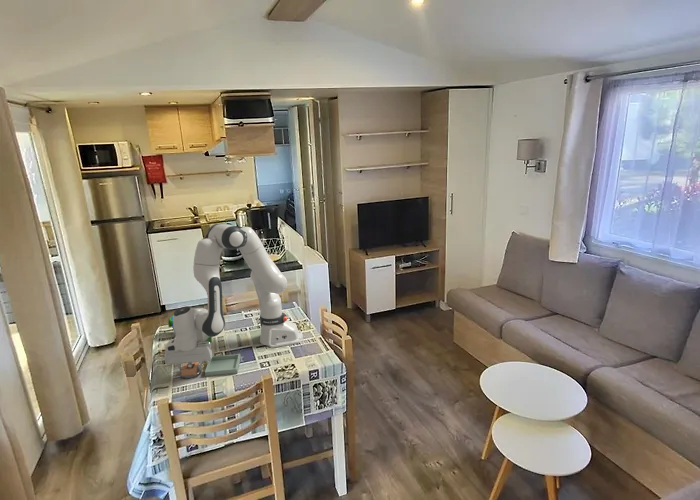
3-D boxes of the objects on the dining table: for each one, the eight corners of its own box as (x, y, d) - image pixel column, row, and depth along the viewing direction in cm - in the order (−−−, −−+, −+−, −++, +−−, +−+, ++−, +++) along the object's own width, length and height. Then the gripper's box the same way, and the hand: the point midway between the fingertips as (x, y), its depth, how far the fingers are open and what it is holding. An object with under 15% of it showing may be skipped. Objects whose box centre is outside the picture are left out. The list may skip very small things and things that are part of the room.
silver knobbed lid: (203, 367, 200) (202, 357, 198) (199, 378, 191) (197, 367, 190) (183, 369, 198) (181, 359, 197) (178, 379, 190) (176, 369, 188)
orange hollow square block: (199, 367, 198) (198, 361, 197) (196, 374, 192) (195, 369, 191) (185, 368, 197) (184, 363, 196) (181, 376, 191) (181, 370, 190)
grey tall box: (204, 350, 216) (200, 321, 212) (192, 349, 217) (188, 320, 213) (212, 342, 224) (209, 314, 220) (201, 341, 225) (197, 314, 221)
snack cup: (164, 335, 233) (161, 318, 230) (179, 327, 242) (177, 311, 239) (185, 341, 226) (182, 323, 223) (200, 332, 235) (197, 315, 233)
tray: (240, 358, 207) (240, 353, 206) (237, 373, 193) (236, 369, 193) (210, 361, 205) (210, 356, 204) (205, 376, 192) (204, 372, 191)
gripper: (212, 337, 195) (215, 364, 198) (165, 341, 192) (169, 368, 196) (209, 344, 189) (213, 371, 192) (161, 348, 186) (165, 376, 190)
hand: (190, 370), depth 194 cm, fingers closed on orange hollow square block, 6 cm apart
